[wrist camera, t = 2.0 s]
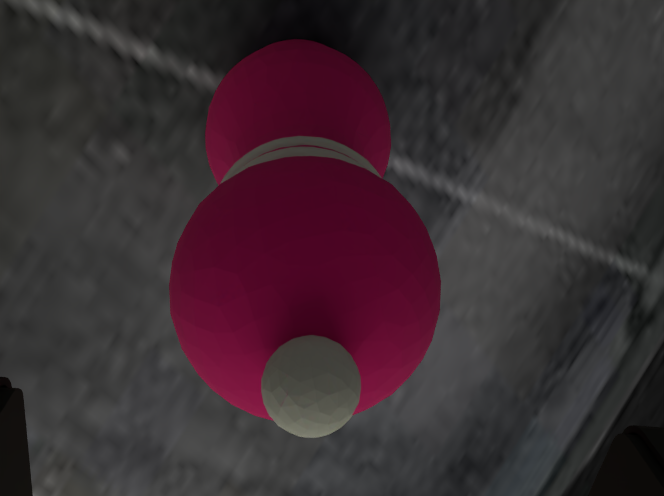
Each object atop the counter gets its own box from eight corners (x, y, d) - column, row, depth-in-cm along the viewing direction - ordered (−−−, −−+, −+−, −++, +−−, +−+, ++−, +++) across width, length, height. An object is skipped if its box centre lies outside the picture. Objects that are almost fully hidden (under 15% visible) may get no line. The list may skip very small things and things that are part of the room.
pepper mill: (387, 166, 29) (540, 522, 12) (242, 198, 30) (172, 593, 12) (360, 9, 26) (515, 171, 8) (196, 47, 26) (3, 282, 8)
